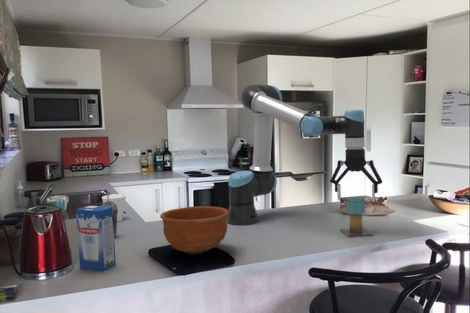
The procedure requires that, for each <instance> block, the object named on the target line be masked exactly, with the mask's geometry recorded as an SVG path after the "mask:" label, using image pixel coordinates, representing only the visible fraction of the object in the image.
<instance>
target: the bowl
mask: <svg viewBox="0 0 470 313" xmlns="http://www.w3.org/2000/svg"><path fill="white" fill-rule="evenodd" d="M228 210H229V209H227V208H225V207H220V206H211V205H210V206H209V205H208V206H205V205H201V206H200V205H199V206H187V207H180V208H175V209H174V208H173V209H169V210H166V211H164V212H162V213H161V214H160V215H159V217H160V219H162V224H163V231H162V232H163V234H164V237H165V239H166V241H167V243H169V244H170V245H171V247H173V249H174V250H177V251H179V252H184V253H185V252H189V253H197V252H202V251H206V252H207V251H209V250H211V249H214V248H215V247H217V246H218V245H219V244H220V243H221V242H222V240H224V239H225V237H226V234H227V232H228V223H227V216H228V214H229V211H228Z"/></svg>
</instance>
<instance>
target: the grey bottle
mask: <svg viewBox="0 0 470 313" xmlns="http://www.w3.org/2000/svg"><path fill="white" fill-rule="evenodd" d="M106 195H107V199H108V201H107V202H105V203H104V204H103V203H102V205H101V206H102V207H112V209H113V225H114V239H116V238H117V233H118V232H117V231H118V229H117V226H118V224H117V223H118V222H117V214H118V209H117V206H116V204H115V203H114V202H111V201H109V196H108V195H109V190H107V191H106Z"/></svg>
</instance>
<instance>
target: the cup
mask: <svg viewBox="0 0 470 313" xmlns="http://www.w3.org/2000/svg"><path fill="white" fill-rule="evenodd" d="M108 196H109V201H111V202H114V203H115V204H116V206H117V209H118V214H117V223H118V222H121V221H123V218H124V211H125V204H126V198H127V195H126V194H124V193H123V194H121V193H119V194H117V193H114V194H108ZM101 200H102V205H103V204H104V203H105V202H107V201H108V199H107V194H106V195H103V196H102V197H101Z"/></svg>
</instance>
